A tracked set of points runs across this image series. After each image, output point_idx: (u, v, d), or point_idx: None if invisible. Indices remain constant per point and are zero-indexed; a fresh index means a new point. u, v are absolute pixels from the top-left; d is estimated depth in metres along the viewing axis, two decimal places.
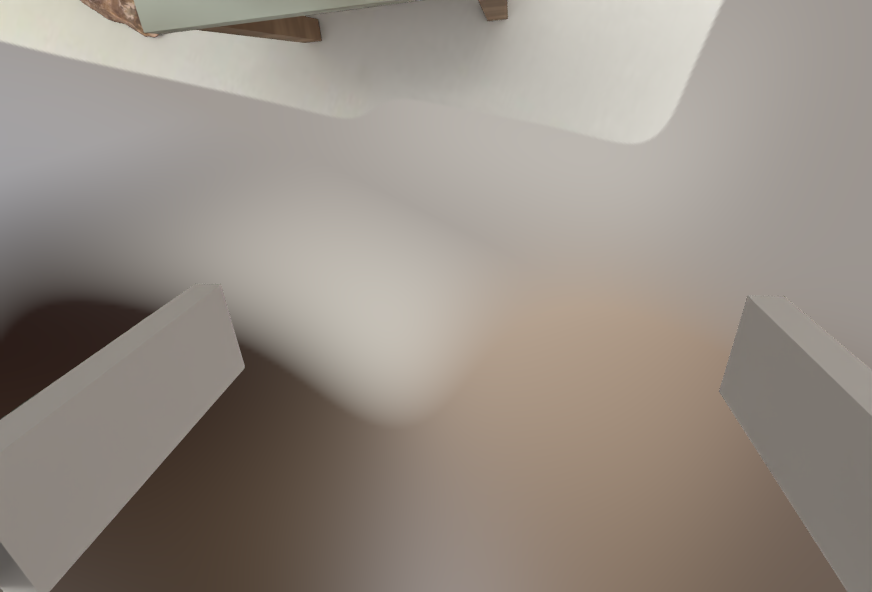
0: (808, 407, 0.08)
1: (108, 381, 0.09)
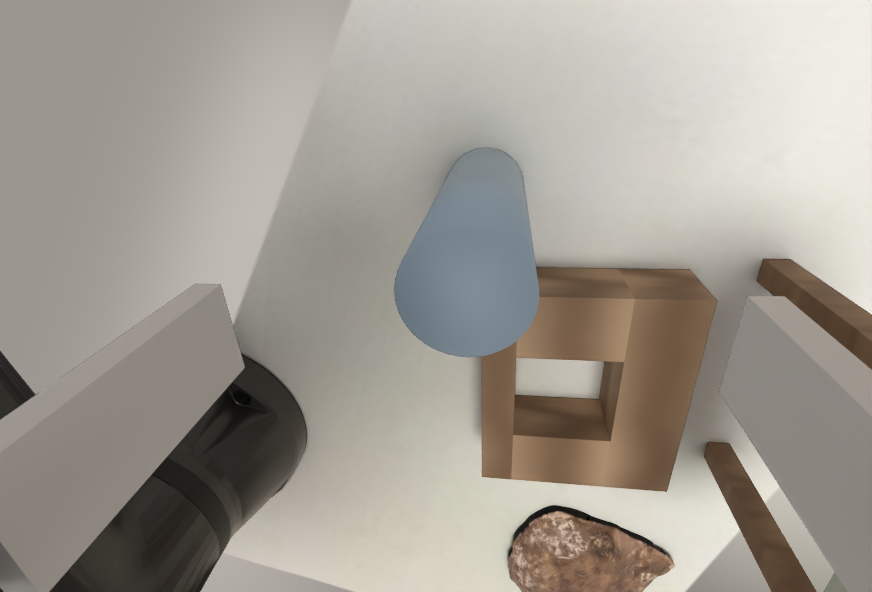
0: (808, 407, 0.08)
1: (108, 381, 0.09)
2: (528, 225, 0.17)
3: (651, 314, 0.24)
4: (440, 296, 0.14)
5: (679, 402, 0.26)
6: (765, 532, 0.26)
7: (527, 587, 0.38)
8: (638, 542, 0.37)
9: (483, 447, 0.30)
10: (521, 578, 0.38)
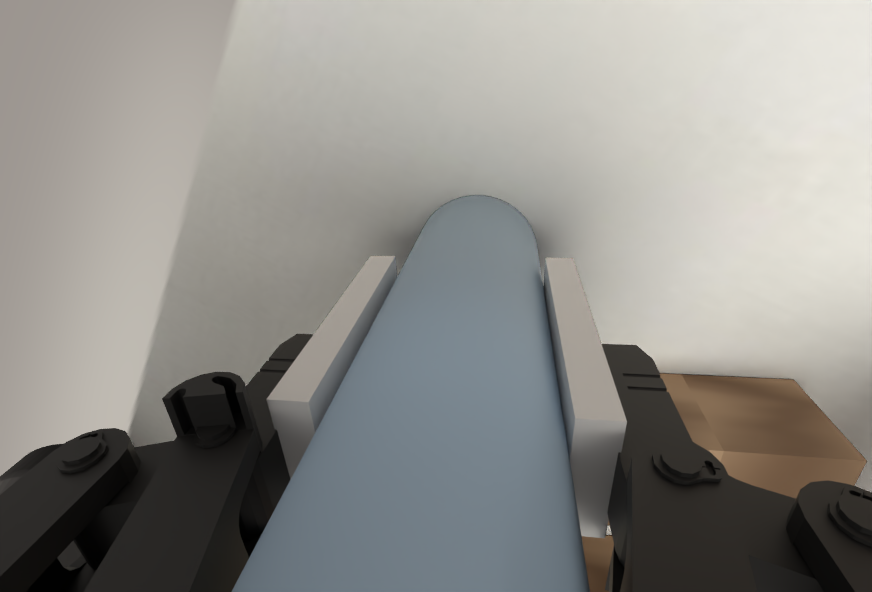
0: (551, 334, 0.11)
1: (356, 331, 0.10)
2: (561, 424, 0.07)
3: (748, 473, 0.14)
4: None
5: None
6: None
7: None
8: None
9: None
10: None
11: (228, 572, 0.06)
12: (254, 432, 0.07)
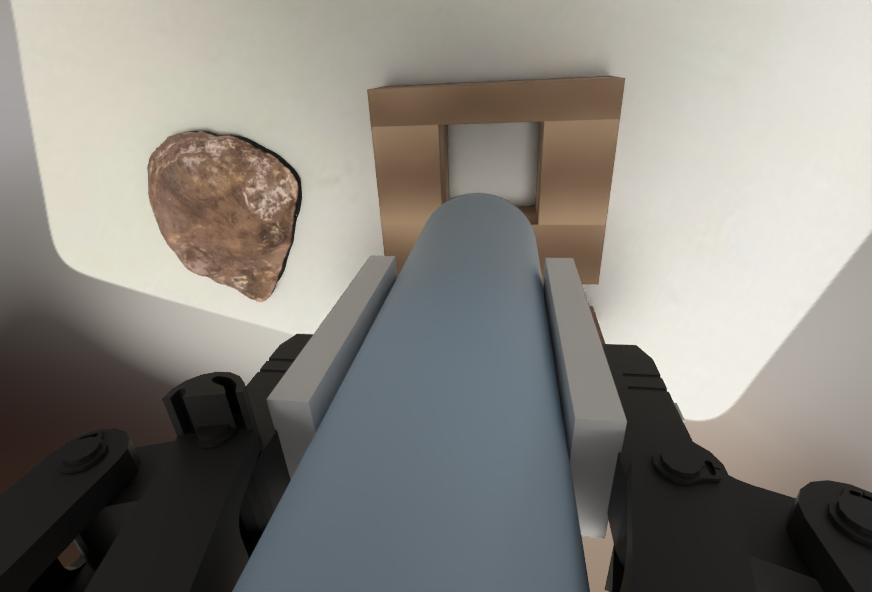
0: (551, 335, 0.10)
1: (356, 331, 0.10)
2: (559, 410, 0.08)
3: (588, 239, 0.28)
4: None
5: None
6: None
7: (181, 160, 0.31)
8: (279, 267, 0.36)
9: (414, 89, 0.25)
10: (189, 152, 0.31)
11: (228, 572, 0.06)
12: (254, 432, 0.07)
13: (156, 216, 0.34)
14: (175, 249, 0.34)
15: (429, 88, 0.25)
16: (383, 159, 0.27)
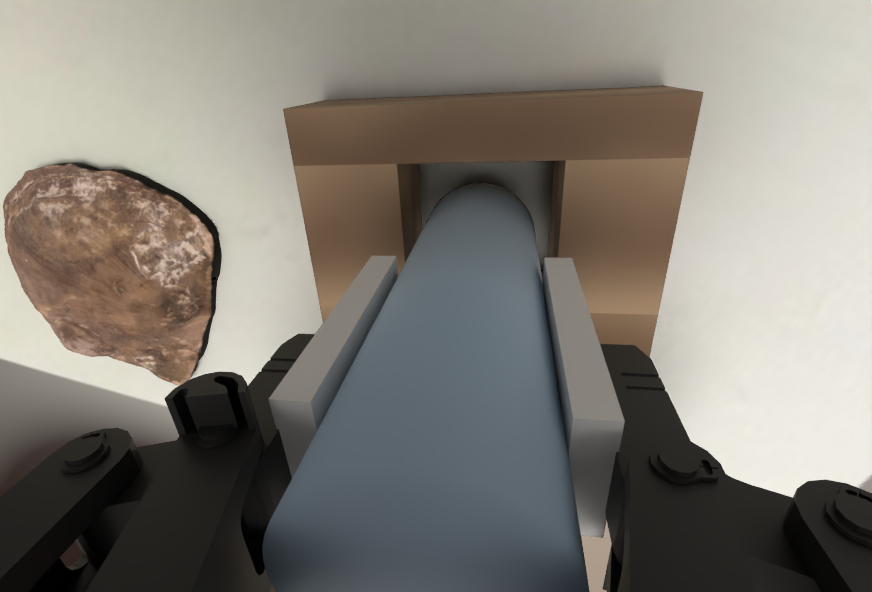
0: (550, 334, 0.11)
1: (358, 331, 0.10)
2: (552, 360, 0.09)
3: (630, 334, 0.18)
4: (364, 585, 0.06)
5: None
6: None
7: (37, 207, 0.21)
8: (198, 343, 0.27)
9: (357, 109, 0.16)
10: (49, 195, 0.21)
11: (230, 572, 0.06)
12: (256, 432, 0.07)
13: (19, 279, 0.24)
14: (50, 323, 0.25)
15: (380, 107, 0.16)
16: (316, 214, 0.18)
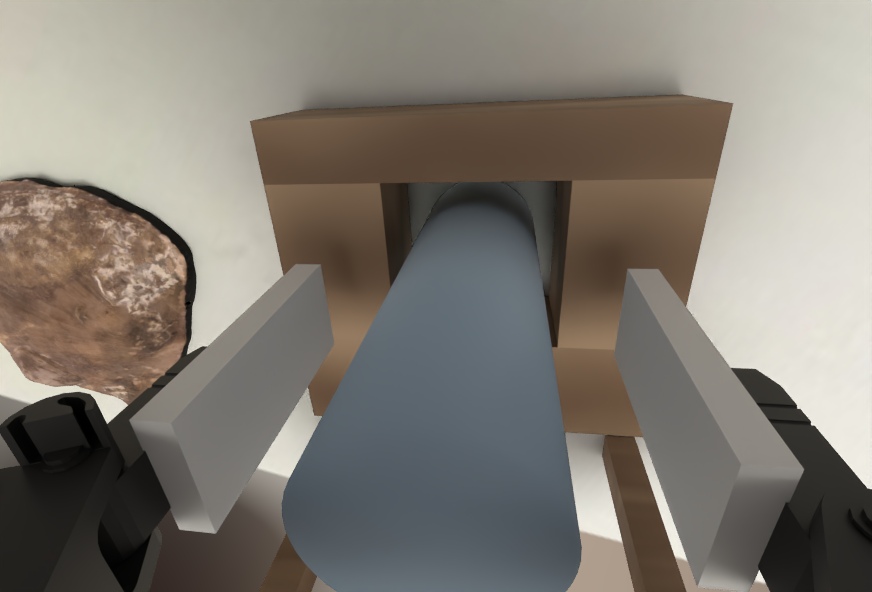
0: (652, 356, 0.10)
1: (254, 345, 0.10)
2: (548, 341, 0.10)
3: None
4: (375, 538, 0.07)
5: None
6: None
7: None
8: None
9: (333, 122, 0.14)
10: (2, 214, 0.19)
11: (87, 591, 0.06)
12: (112, 449, 0.07)
13: None
14: (9, 351, 0.23)
15: (360, 119, 0.14)
16: (290, 238, 0.16)
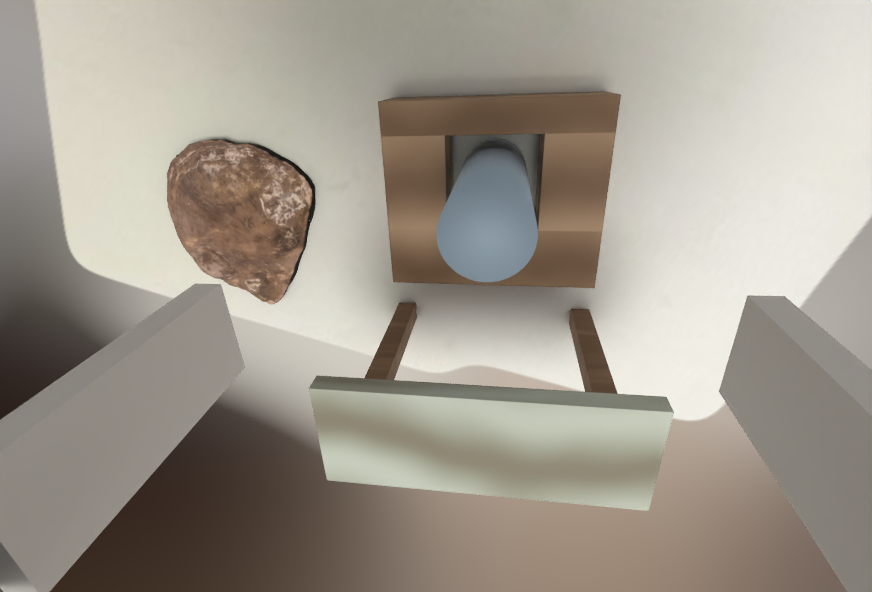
0: (808, 407, 0.08)
1: (108, 381, 0.09)
2: (530, 192, 0.23)
3: (586, 245, 0.29)
4: (468, 236, 0.20)
5: None
6: (398, 355, 0.32)
7: (202, 167, 0.32)
8: (291, 270, 0.37)
9: (423, 102, 0.27)
10: (209, 159, 0.32)
11: None
12: None
13: (174, 220, 0.35)
14: (192, 252, 0.36)
15: (437, 101, 0.27)
16: (392, 167, 0.29)
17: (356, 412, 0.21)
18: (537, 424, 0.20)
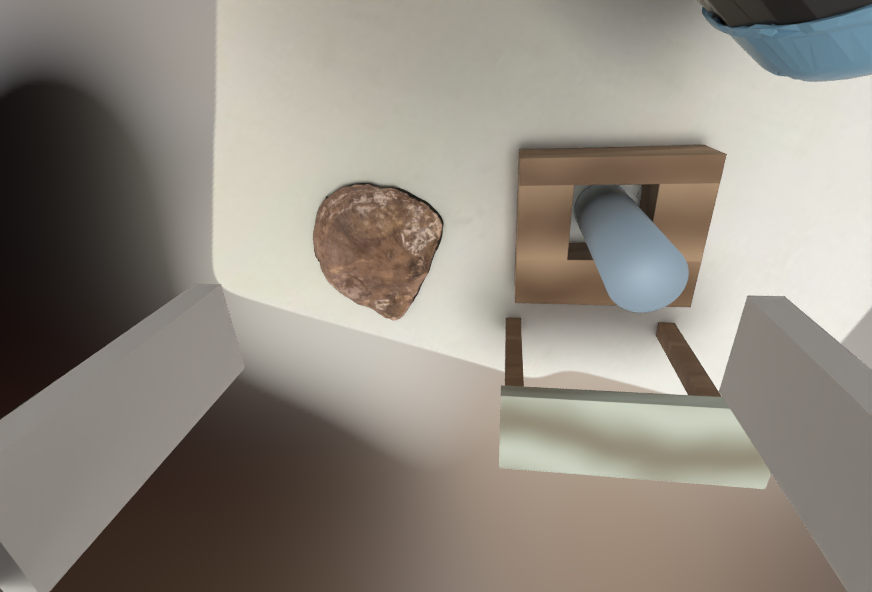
0: (808, 407, 0.08)
1: (108, 381, 0.09)
2: None
3: None
4: (632, 278, 0.26)
5: (605, 298, 0.37)
6: None
7: (355, 208, 0.38)
8: (415, 292, 0.43)
9: (558, 159, 0.33)
10: (361, 202, 0.38)
11: None
12: None
13: (322, 251, 0.41)
14: (334, 278, 0.42)
15: (570, 158, 0.33)
16: (525, 210, 0.35)
17: (536, 414, 0.27)
18: (684, 422, 0.26)
